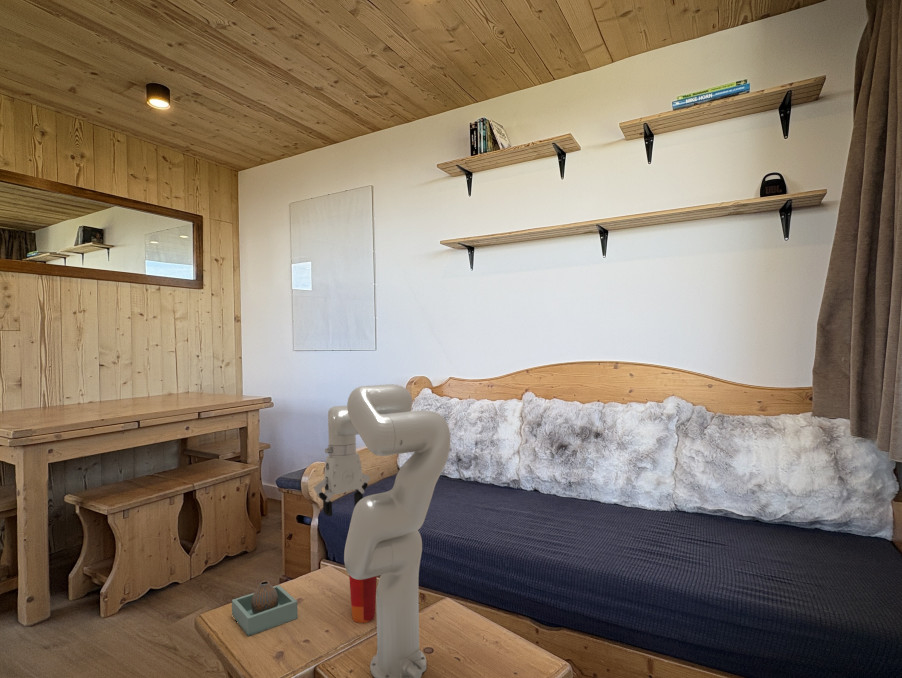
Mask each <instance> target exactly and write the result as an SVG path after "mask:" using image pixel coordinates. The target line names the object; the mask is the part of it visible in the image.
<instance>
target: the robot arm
mask: <svg viewBox="0 0 902 678" xmlns="http://www.w3.org/2000/svg"><path fill="white" fill-rule="evenodd" d="M412 397H413V396H412V394H411V393H410V392H409V390H408V389H407V388H405V387H404V386H402V385H398V384H377V385H376V384H375V385H361V386H358V387H356V388H354V389H353V390H352V391H351V392H350V394H349V396H348V399H347V404H346V405H336V406H332V407H330V408H329V409H328V410H327V411H328V412H327V422H328V423H327V424H328V425H327V426H328V428H327V429H328V431H327V434H328V445H327V448H325V449H324V453H325V454H327V456H326V459H325V460H326V461H325V466H324V476H323V478H324V479H322V480H321V481H320V482H319V483H317V484H316V485H315V486H314V487H313V490H314V491H315V494H316V496H317V497H318V498H320V499H321V501H322V502H323V503H322V504H323V505H322V509H323V510H322V511H323V513H324V515H325V516H326V517H332V516H333V502H332V500H331V499H332V498H333V496H334V494H335V495H338V494H344V493H347V492H348V493H349V492H351V491H355V492H354V493H353V495H354V499H353V501H354V503H353V504H354V508H353V511H352V514H351V519H350V523H349V529H348V533H347V537H346V540H345V546H344V552H343V553H344V554H343V555H344V556H343V562H344V568H345V570H346V573H347V574H348V575H350V576H351V577H352V578H354V579H357V580H363V579H367V578H371V577H375V576H377V577H378V576H380V577H379V579H378V583H377V584H376V606H375V613H376V654H375V655H373V657H372V659H371V660H370V664H369V667H370V668H369V669H370V673H371V675H372V676H373V677H374V678H422V677H423V673H424V672H426V671H427V668H428V666H427V658H426V655H425V654H424V652H423V651H422V650H420V615H419V612H420V610H419V608H420V607H419V578H420V577H419V575H420V574H419V573H420V565H421V558H422V553H423V539H422V536H421V533H420V531H419V530H420V529H421V528H422V526H423V524H424V522H425V520H426V516H427V513H428V510H429V507H430V504H431V501H432V497H433V494H434V491H435V487H436V484H437V483H438V481H439V478H440V476H441V474H442V472H443V471H444V468H445V466H446V463H447V460H448V459H449V458H448V457H449V454H450V449H451V434H450V433H451V432H450V427H449V424H448V422H447V420H446V418H445V417H444V416H443V415H441V414H440V413H438V412H435V411H431V410H412V411H411V409H412V406H413V398H412ZM356 435H359V437H360V438H361V440H362V441H363V443H364V445H365V447H366V448H367V450H368V451H369V452H370V453H372V454H373V455H375V456H378V457H387V456H392V455H393V456H394V455H400V454H407V453H408V454H409V453H413V454H412V455H411V456H409V458H408V459H407V460H406V461H405V462H404V463H403V464H402V465H401V467H400V469H399V470H398V472H397V473H396V476H395V480H394V483H393V487H392V488H391V489H390V490H388V491H385V492H380V493H375V494H369V495H366V496H364V495H363V494H365V490H366V489H367V487H368V486H369V484H368V483H369V481H370V479H371V476H370V475H368V474H365V473H363V468H362V463H361V458H360V454H359V452H357V443H356V442H357V441H356V439H357V438H356V437H357V436H356ZM322 488H324V490H325V491H324V492H323V491H322V490H323V489H322ZM363 496H364V497H363Z"/></svg>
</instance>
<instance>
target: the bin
mask: <svg viewBox="0 0 902 678" xmlns="http://www.w3.org/2000/svg"><path fill="white" fill-rule="evenodd" d="M272 587H273V588H274V589H275V590H276V592H277V594H278V606H277V607H275V608H272V609H269V610H266V611H263V612H260V613H257V614H253V612H252V609H251V600H252V596H253V594H254V592H253V593H249V594H245V595H243V596H240V597H237V598H233V599H232V600H231V616H232V615H233V617H234V618H235V620H236V621H237V622H238V623H237V622H236V621H235V620H234V621H235V622H236V623H237V625H238V624H239V625H240V626H241V627H240V626H239V625H238V626H239V627H240V628H241V630H242V629H243V630H242V631H243V632H244V634H246V636H247V637H248V638H249V637H252V636H253V635H256V634H259V633H263V632H264V631H267V630H270V629H273V628H276V627H278V626H280V625H284V624H287V623H289V622H291V621H294V620H297V619H298V617H299V616H298V601H297V599H295V598H294V597H293V596H292V595H291V594H289V593H288V591H286V590H285V589H284V588H283V587H282V586H281V585H280V584H277V585H273V586H272ZM233 617H232V618H233Z"/></svg>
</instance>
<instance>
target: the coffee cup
mask: <svg viewBox="0 0 902 678" xmlns="http://www.w3.org/2000/svg"><path fill="white" fill-rule="evenodd" d="M348 575H349V574H348ZM377 577H378V576H375V577H371V578H367V579H363V580H357V579H354V578H352V577H351V576H350V575H349V576H348V578H349V580H348V581H349V591H350V604H351V616H352V620H353V622H354V623H357V624H367V623H369V622H371V621H373V620H374V619H375V617H376V590H377V584H378V583H377V579H378V578H377Z"/></svg>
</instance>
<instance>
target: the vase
mask: <svg viewBox="0 0 902 678" xmlns="http://www.w3.org/2000/svg"><path fill="white" fill-rule="evenodd" d="M273 587H274V586H273V585H272V584H271V583H270V581H269V580H263V581H260V582H259V585H258V587H257V588H256V589H255V591H254V592H253V593H254V594H253V596H252V600H251V609H252V612H253V614H257V613H260V612H263V611H266V610H269V609H272V608H275V607H277V606H278V594H277V592H276V590H275V589H274V588H273Z"/></svg>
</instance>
